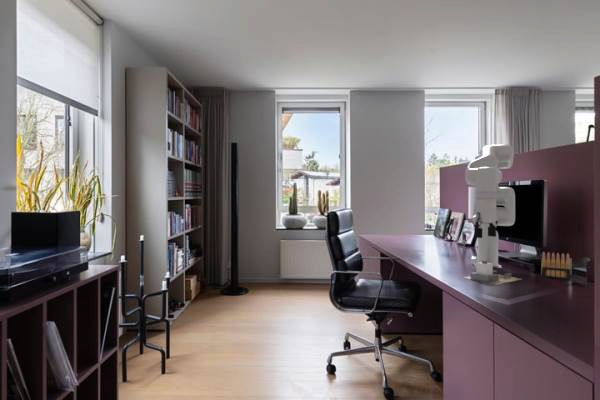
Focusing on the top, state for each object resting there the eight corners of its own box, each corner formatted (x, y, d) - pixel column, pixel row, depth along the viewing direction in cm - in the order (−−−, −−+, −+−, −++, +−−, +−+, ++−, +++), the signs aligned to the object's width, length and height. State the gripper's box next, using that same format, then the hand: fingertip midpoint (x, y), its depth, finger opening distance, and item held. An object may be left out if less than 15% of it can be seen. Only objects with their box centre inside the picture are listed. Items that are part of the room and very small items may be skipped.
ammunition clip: (541, 277, 152) (541, 251, 152) (540, 277, 154) (541, 251, 154) (570, 280, 147) (571, 253, 147) (569, 279, 149) (570, 253, 149)
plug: (476, 279, 141) (476, 260, 141) (482, 278, 143) (482, 259, 143) (486, 281, 137) (486, 262, 137) (492, 280, 139) (492, 261, 139)
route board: (463, 280, 144) (463, 270, 144) (489, 275, 154) (490, 266, 154) (495, 288, 132) (495, 277, 132) (522, 282, 142) (522, 272, 142)
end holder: (470, 278, 142) (470, 272, 142) (481, 276, 145) (481, 271, 145) (488, 282, 135) (488, 276, 135) (498, 280, 139) (498, 274, 139)
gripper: (488, 196, 148) (488, 234, 148) (464, 196, 139) (464, 237, 139) (506, 196, 141) (505, 236, 141) (482, 196, 133) (481, 239, 133)
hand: (485, 236), depth 140 cm, fingers open, 9 cm apart
